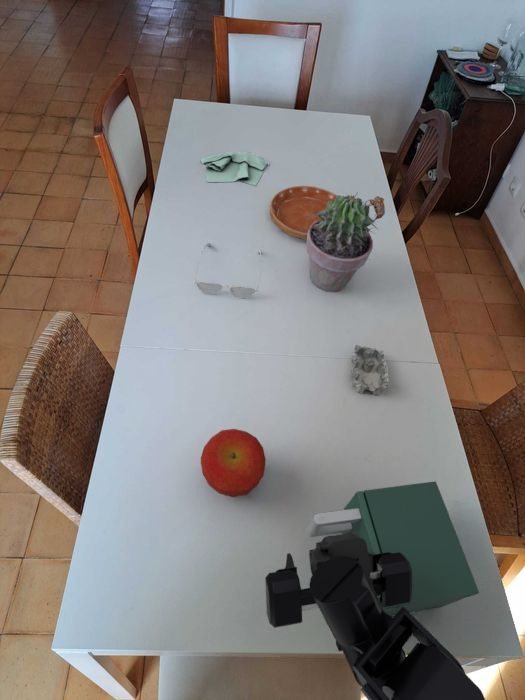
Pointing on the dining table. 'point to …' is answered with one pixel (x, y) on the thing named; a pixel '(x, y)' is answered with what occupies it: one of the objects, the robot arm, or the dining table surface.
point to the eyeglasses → (215, 288)
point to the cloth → (234, 167)
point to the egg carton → (369, 370)
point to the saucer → (299, 208)
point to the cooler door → (348, 525)
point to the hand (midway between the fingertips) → (319, 551)
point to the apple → (233, 462)
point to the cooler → (421, 543)
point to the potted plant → (340, 241)
